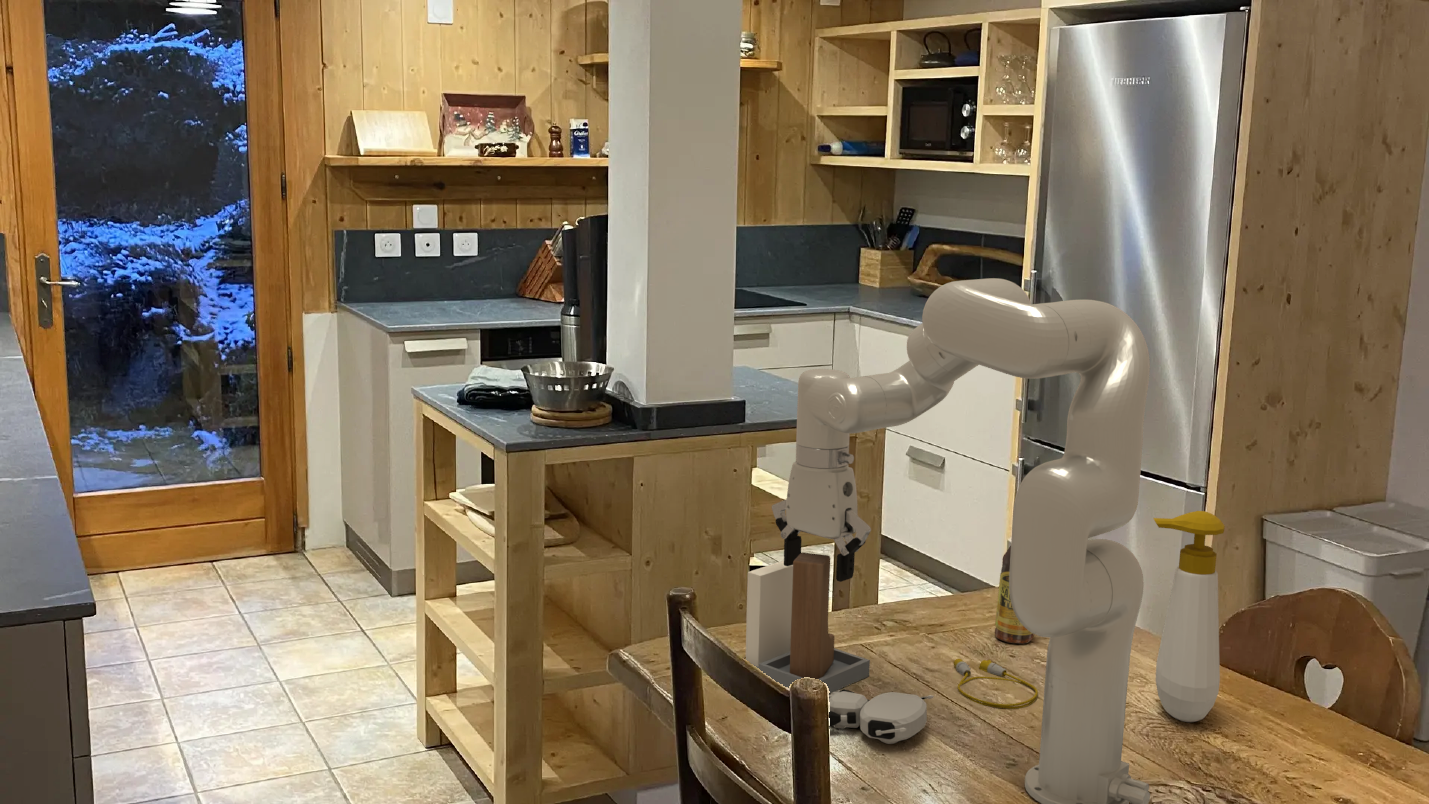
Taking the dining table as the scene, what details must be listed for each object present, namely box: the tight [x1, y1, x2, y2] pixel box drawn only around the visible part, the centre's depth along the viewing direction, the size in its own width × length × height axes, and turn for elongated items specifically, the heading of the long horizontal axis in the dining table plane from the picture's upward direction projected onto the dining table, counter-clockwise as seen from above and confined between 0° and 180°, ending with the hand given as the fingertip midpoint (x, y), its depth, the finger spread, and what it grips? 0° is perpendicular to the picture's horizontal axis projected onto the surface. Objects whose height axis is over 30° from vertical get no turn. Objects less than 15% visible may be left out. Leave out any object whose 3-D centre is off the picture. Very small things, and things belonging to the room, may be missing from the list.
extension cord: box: [953, 658, 1039, 710], centre depth 195 cm, size 12×16×2 cm
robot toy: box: [828, 688, 935, 745], centre depth 180 cm, size 12×4×15 cm
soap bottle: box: [1153, 510, 1226, 723], centre depth 185 cm, size 13×10×29 cm
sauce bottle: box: [994, 545, 1034, 645], centre depth 213 cm, size 6×6×20 cm
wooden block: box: [790, 552, 835, 679], centre depth 196 cm, size 9×4×18 cm, turn 161°
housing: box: [745, 560, 871, 694], centre depth 198 cm, size 16×13×15 cm
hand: (818, 571), depth 194 cm, fingers open, 9 cm apart
